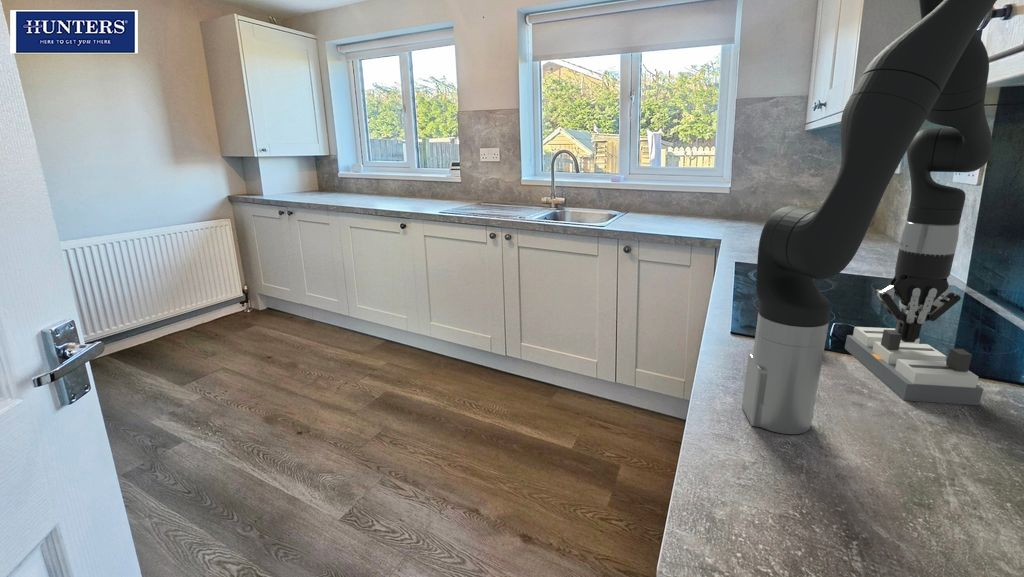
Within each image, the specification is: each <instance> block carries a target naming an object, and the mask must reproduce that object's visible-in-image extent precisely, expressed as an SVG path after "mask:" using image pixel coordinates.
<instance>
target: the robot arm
mask: <svg viewBox="0 0 1024 577" xmlns="http://www.w3.org/2000/svg"><path fill="white" fill-rule="evenodd" d="M997 1H998V0H918V3H919V4H918V5H919V11H920V18H921V19H920V20H918V22H917V23H915V24H914V25H912V27H910V28H909V29H908V30H906V31H905V32H904V33H902V34H901V35H900V36H898V37H897V38H895V40H893V41H892V42H891V43H889V44H888V45H887V46H886V47H885V48H884V49H882V50H881V51H880V52H879V53H878V54H877V55H876V56H875V57H873V59H872V60H871V62H869V64H868V65H867V67H865V69H864V71H863V72H862V75H861V76H860V78H859V79H858V82H857V83H856V85H855V87H854V89H853V91H852V92H851V94H850V96H849V97H848V100H847V102H846V104H845V106H844V109H843V111H842V114H841V118H840V119H841V120H840V151H841V157H840V158H841V161H840V167H839V170H838V173H837V175H836V178H835V181H834V183H833V185H832V187H831V189H830V190H829V192H828V194H827V196H826V198H825V199H824V201H823V202H822V203H821V205H820V206H819V208H813V207H807V206H800V205H788V206H784V207H781V208H779V209H777V210H776V211H774V212H773V213H772V214H771V215H770V216H769V217H768V219H767V220H766V222H765V223H764V224H763V227H762V231H761V233H760V237H759V242H758V250H757V262H756V276H755V293H756V296H757V300H758V306H759V307H758V313H757V319H756V320H757V321H756V329H755V335H754V343H753V344H754V345H753V351H752V352H753V353H750V354H748V357H747V363H746V364H747V365H746V372H745V379H744V380H745V381H744V388H743V394H742V403H741V408H742V410H743V412H744V414H745V416H746V418H747V420H748V422H749V424H750V425H751V426H752V427H759V428H762V429H765V430H768V431H770V432H773V433H779V434H782V435H799V434H804V433H806V432H808V431H809V430H810V429H811V427H812V421H813V418H814V411H815V406H816V398H817V394H818V393H817V392H818V387H819V381H820V376H821V371H822V364H823V358H824V353H825V346H826V341H827V335H828V330H829V326H830V324H829V323H830V319H831V314H832V305H831V303H830V301H829V299H828V298H827V297H826V296H825V295H824V294H823V293H822V292H821V291H820V289H818V287H817V285H816V284H815V281H814V279H816V280H828V279H830V278H834V277H835V276H837V275H838V274H840V273H841V272H843V271H844V270H845V269H846V268H847V267H848V265H849V264H850V263H851V262H852V260H853V259H854V257H855V256H856V254H857V252H858V250H859V248H860V247H861V244H862V243H863V241H864V238H865V236H866V233H867V231H868V230H869V227H870V226H871V223H872V220H873V217H874V216H875V214H876V211H877V210H878V207H879V205H880V203H881V200H882V199H883V196H884V194H885V192H886V190H887V188H888V186H889V184H890V182H891V181H892V178H893V176H894V175H895V173H896V171H897V169H898V168H899V165H900V163H901V162H902V160H903V158H904V156H905V154H906V157H907V158H906V159H907V160H906V161H907V166H908V169H909V170H908V171H909V177H910V190H911V191H910V201H909V202H910V203H909V208H908V211H907V218H906V222H905V224H904V227H903V230H902V233H901V238H900V241H899V248H898V252H897V257H896V263H895V268H894V277H893V278H892V279H891V281H890V283H889V285H888V286H887V287H885V288H883V289H880V288H878V289H876V290H874V294H875V296H876V297H877V299H878V300H879V301H880V303H881V305H882V306H883V307H884V309H885V310H886V312H887V313H888V315H890V316H892V317H893V318H895V319H896V320H897V319H898V320H900V322H899V327H898V333H900V334H901V335H902V337H901V340H902V341H904V342H915V339H916V340H917V339H918V338H919V337H920V334H921V329H922V325H923V324H924V323H926V322H929V321H931V322H934V321H936V320H938V319H939V318H940V317H941V316H942V315H943V314H945V313H946V312H947V311H948V310H950V308H952V307H953V306H954V305H956V304H957V303H958V302H960V301H961V299H962V298H961V295H959V294H958V293H955V292H953V291H952V290H951V289H949V287H950V283H949V282H948V278H949V277H950V275H951V271H952V267H953V262H954V260H955V256H956V250H957V246H958V241H959V230H960V224H961V218H962V214H963V211H964V206H965V203H966V202H965V201H966V197H967V196H966V192H965V191H964V190H963V189H961V188H958V187H953V186H950V185H945V184H941V183H938V182H936V181H935V180H934V179H933V178H932V174H931V173H932V172H936V173H972V172H976V171H978V170H980V169H981V168H982V167H984V166H986V164H987V163H988V162H989V160H990V158H991V157H992V155H993V154H992V153H993V149H994V142H993V137H992V132H991V129H990V126H989V123H988V120H987V115H986V110H985V100H986V92H987V87H988V80H989V72H990V59H989V54H988V51H987V49H986V48H987V47H986V46H985V44H984V42H983V40H982V39H981V37H980V36H979V34H978V33H977V30H978V29H979V27H980V25H981V24H982V22H983V21H984V20H985V17H987V16H988V14H989V13H990V11H991V9H992V8H993V7H994V5H995V4H996V2H997ZM926 120H927V122H929V123H931V124H934V125H939V126H943V127H944V128H943V127H942V128H941V127H940V128H939V127H937V128H936V127H935V128H934V127H933V128H924V129H921V128H922V126H923V125H924V123H925V121H926ZM920 129H921V130H920ZM894 294H895V295H894ZM895 296H896V297H897V299H898V305H897V304H896V303H895V302H894V301H895ZM919 339H920V338H919Z"/></svg>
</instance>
